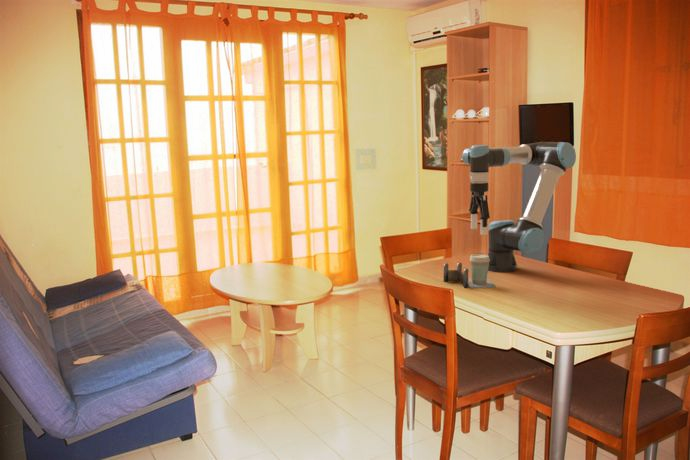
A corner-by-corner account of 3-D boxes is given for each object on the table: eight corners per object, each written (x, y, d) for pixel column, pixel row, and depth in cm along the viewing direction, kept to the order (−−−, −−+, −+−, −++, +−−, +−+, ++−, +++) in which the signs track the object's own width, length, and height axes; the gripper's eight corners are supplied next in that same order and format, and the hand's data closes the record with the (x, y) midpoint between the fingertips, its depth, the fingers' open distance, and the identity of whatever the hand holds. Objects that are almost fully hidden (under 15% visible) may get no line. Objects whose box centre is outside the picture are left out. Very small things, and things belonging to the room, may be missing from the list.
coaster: (488, 280, 263) (488, 279, 262) (495, 287, 252) (495, 286, 252) (463, 281, 262) (463, 280, 262) (470, 288, 251) (470, 286, 251)
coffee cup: (488, 280, 261) (488, 253, 258) (490, 285, 252) (491, 258, 250) (468, 280, 261) (468, 253, 259) (470, 285, 253) (470, 258, 251)
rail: (460, 280, 264) (461, 262, 263) (468, 288, 252) (469, 269, 250) (443, 280, 264) (443, 263, 263) (450, 288, 251) (450, 270, 250)
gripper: (462, 179, 263) (462, 227, 267) (479, 185, 238) (479, 237, 242) (478, 179, 263) (478, 226, 267) (498, 184, 239) (497, 236, 243)
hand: (478, 231), depth 255 cm, fingers open, 13 cm apart
